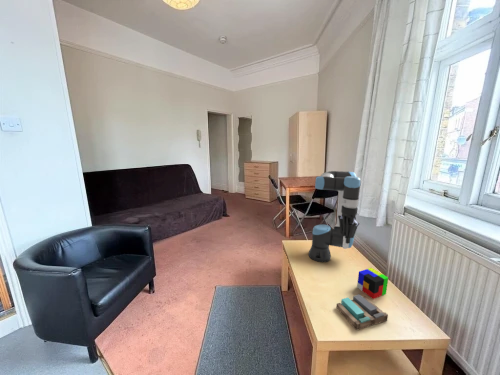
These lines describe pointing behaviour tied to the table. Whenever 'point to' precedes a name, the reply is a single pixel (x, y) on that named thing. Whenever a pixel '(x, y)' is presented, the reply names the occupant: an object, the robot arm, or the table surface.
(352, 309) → the teal block
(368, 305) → the grey block
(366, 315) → the comb rack
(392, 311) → the table surface
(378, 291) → the puzzle toy
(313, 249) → the robot arm
